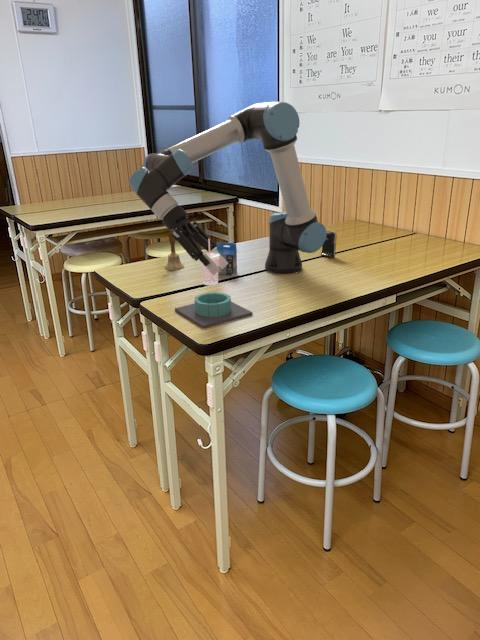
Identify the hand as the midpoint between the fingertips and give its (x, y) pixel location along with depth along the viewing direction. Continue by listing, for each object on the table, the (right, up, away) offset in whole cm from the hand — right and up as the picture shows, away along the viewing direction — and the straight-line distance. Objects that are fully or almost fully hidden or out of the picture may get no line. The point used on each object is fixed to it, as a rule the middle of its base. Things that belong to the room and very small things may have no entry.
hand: (221, 269), depth 150 cm
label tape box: (0, +3, +47) cm, 47 cm away
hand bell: (-22, +6, +57) cm, 61 cm away
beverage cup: (-3, -4, +3) cm, 6 cm away
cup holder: (-3, -13, +7) cm, 15 cm away
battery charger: (+44, +12, +68) cm, 82 cm away
